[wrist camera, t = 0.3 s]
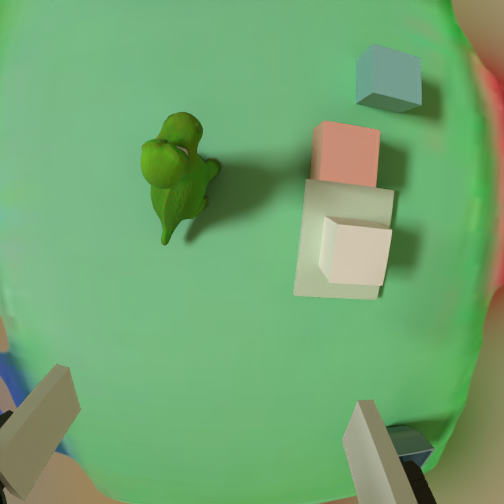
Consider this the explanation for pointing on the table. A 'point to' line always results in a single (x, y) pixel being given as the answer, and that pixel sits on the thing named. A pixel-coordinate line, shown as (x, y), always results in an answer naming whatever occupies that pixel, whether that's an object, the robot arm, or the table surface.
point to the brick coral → (345, 154)
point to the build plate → (313, 228)
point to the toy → (177, 172)
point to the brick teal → (388, 79)
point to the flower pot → (410, 444)
